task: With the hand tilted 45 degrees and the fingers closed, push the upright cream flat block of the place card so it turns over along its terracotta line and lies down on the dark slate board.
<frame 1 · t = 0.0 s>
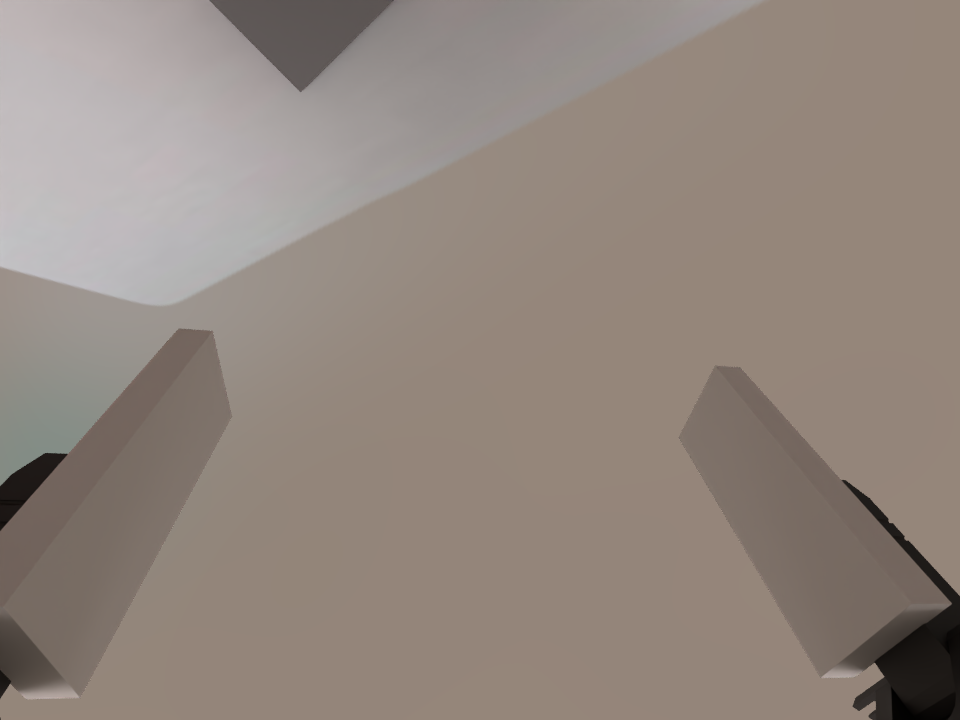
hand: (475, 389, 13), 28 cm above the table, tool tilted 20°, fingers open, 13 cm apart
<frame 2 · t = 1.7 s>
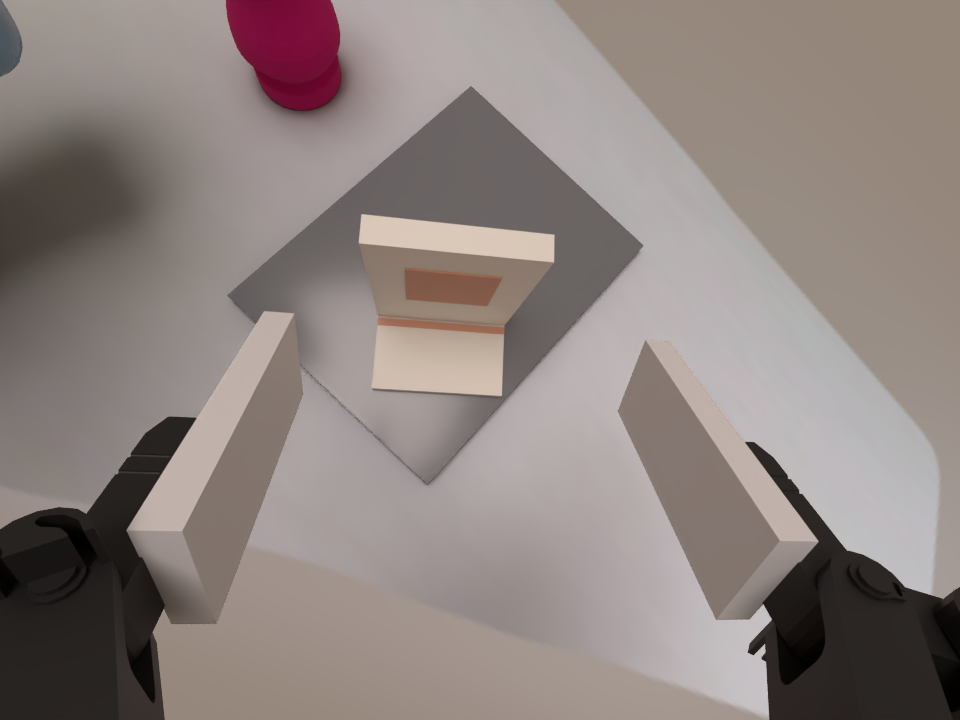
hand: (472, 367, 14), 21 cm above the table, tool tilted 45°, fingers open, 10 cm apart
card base: (442, 305, 34), resting on slate board
pepper mill: (301, 78, 37), on the table
cream flat block: (449, 283, 27), point 8 cm above the table, hinge at 0.0°
slate board: (450, 273, 36), on the table
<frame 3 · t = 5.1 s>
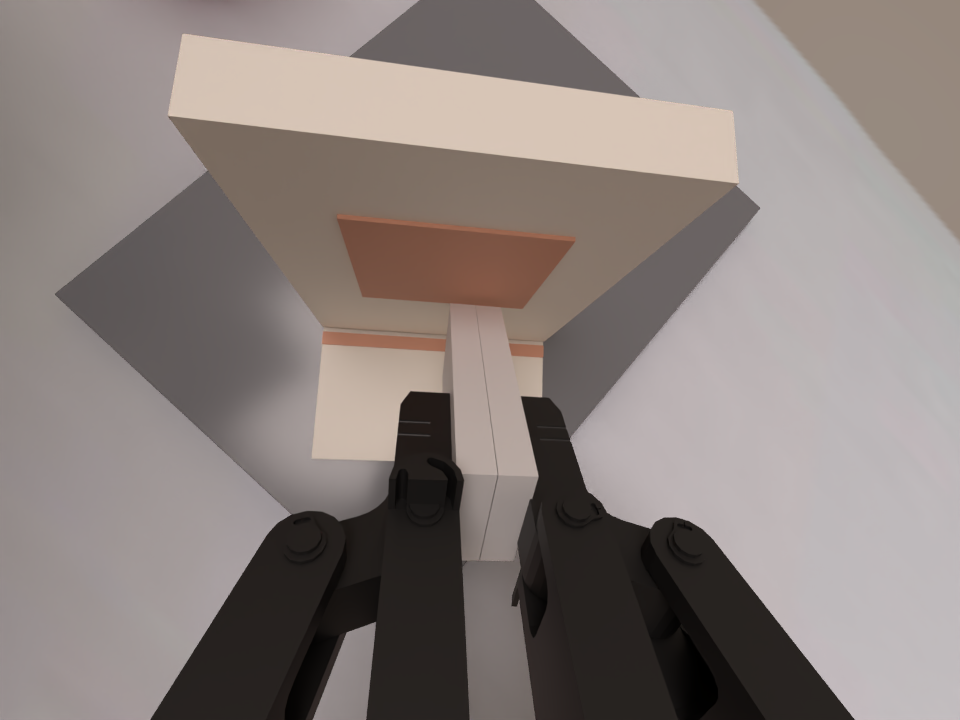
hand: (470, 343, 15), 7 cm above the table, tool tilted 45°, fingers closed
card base: (437, 307, 20), resting on slate board
cream flat block: (449, 261, 13), point 8 cm above the table, hinge at 1.7°, touching gripper
slate board: (449, 254, 22), on the table
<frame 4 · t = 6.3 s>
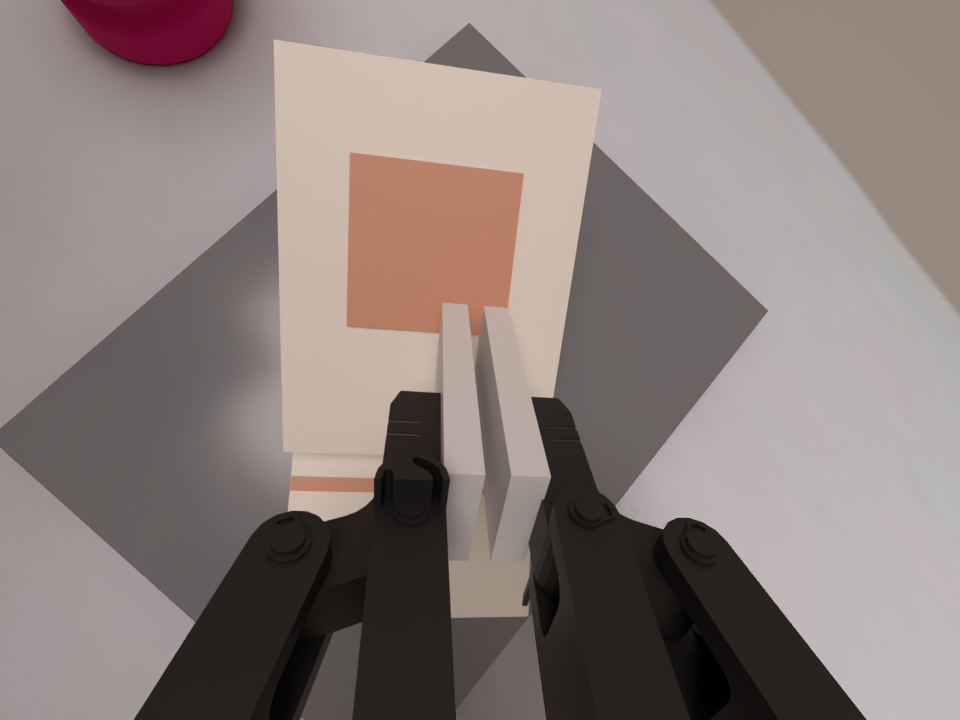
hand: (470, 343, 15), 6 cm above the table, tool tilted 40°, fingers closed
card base: (417, 436, 19), resting on slate board
pepper mill: (159, 4, 20), on the table
cream flat block: (430, 281, 15), point 5 cm above the table, hinge at 65.6°, touching gripper
slate board: (432, 368, 20), on the table
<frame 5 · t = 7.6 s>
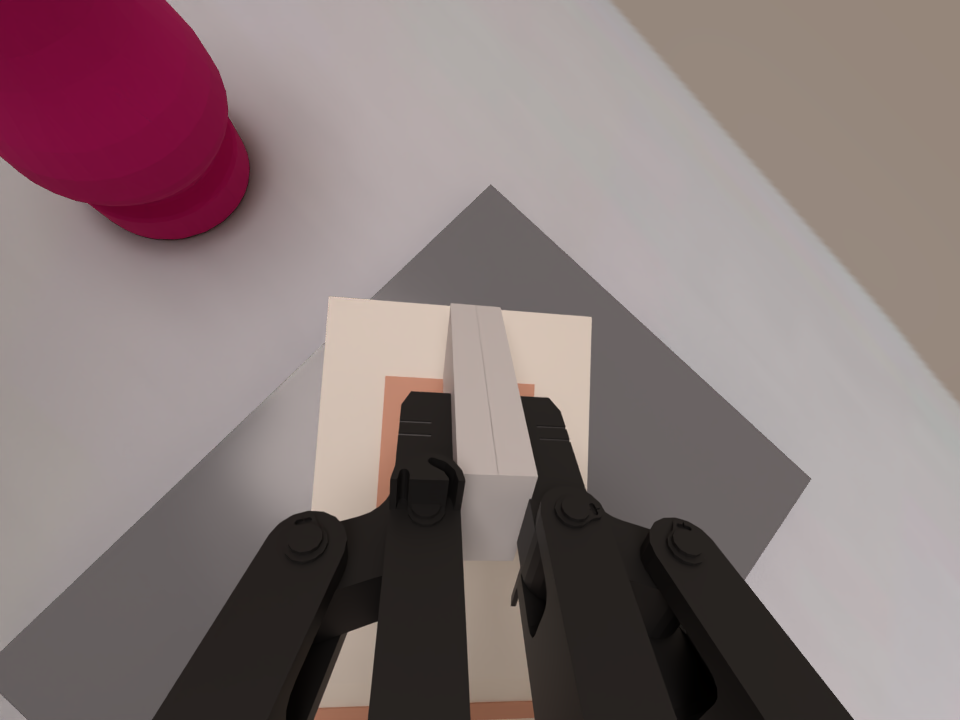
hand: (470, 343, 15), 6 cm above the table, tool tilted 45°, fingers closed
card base: (440, 644, 17), resting on slate board
pepper mill: (175, 174, 20), on the table
cream flat block: (453, 483, 16), point 3 cm above the table, hinge at 85.1°
slate board: (454, 555, 19), on the table
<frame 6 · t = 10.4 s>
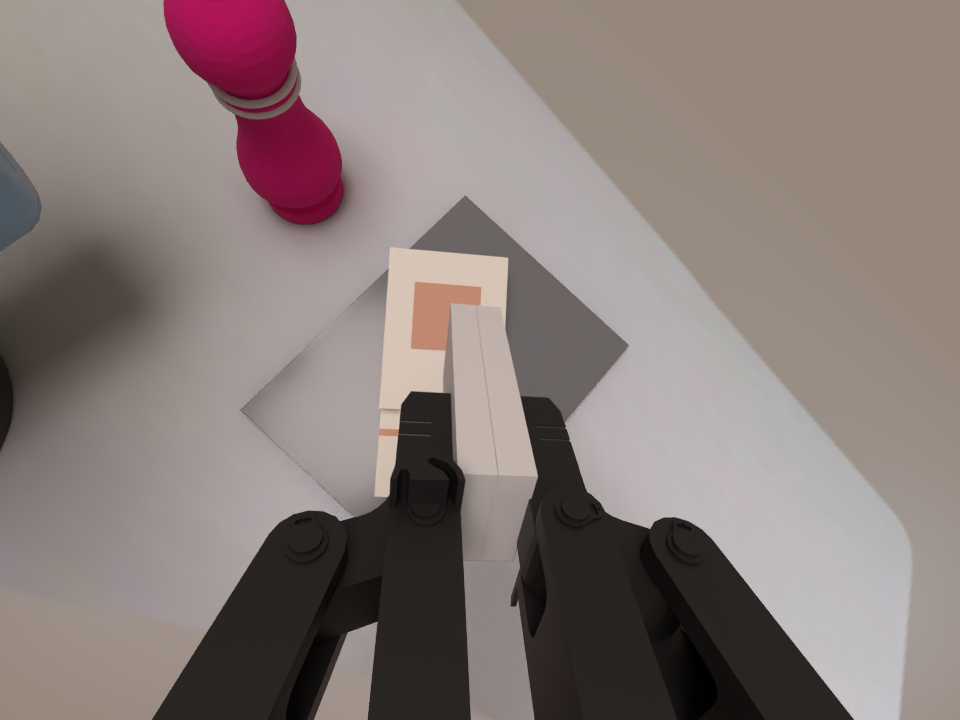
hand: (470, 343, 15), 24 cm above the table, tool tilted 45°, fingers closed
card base: (439, 411, 37), resting on slate board
pepper mill: (306, 191, 40), on the table
cream flat block: (445, 331, 36), point 3 cm above the table, hinge at 85.1°
slate board: (446, 377, 38), on the table
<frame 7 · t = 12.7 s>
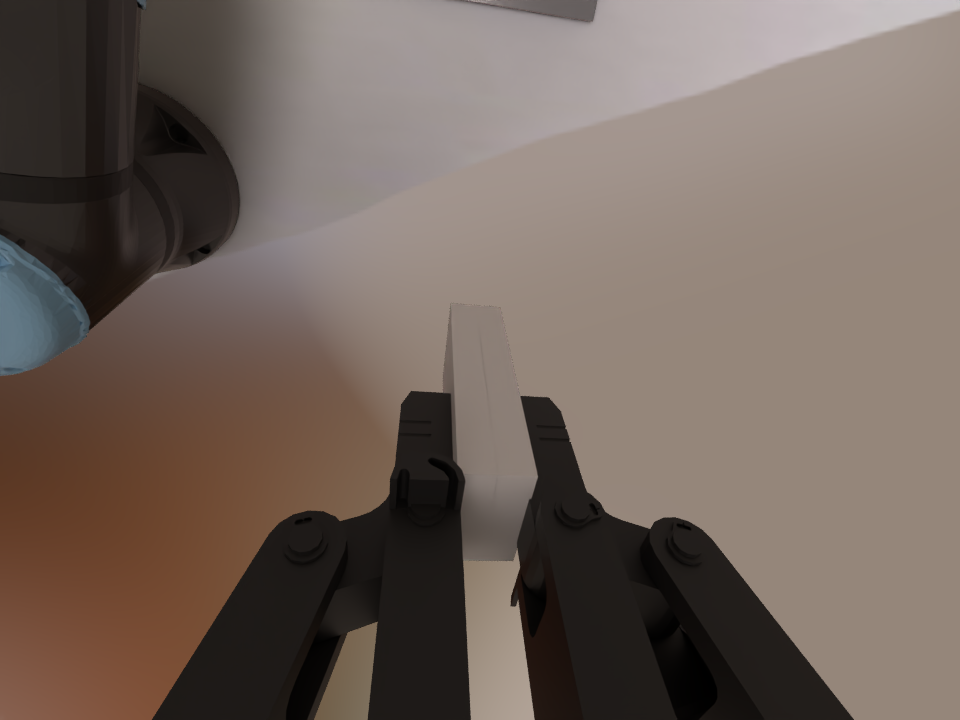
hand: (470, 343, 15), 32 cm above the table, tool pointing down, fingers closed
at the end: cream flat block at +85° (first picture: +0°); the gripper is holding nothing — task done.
